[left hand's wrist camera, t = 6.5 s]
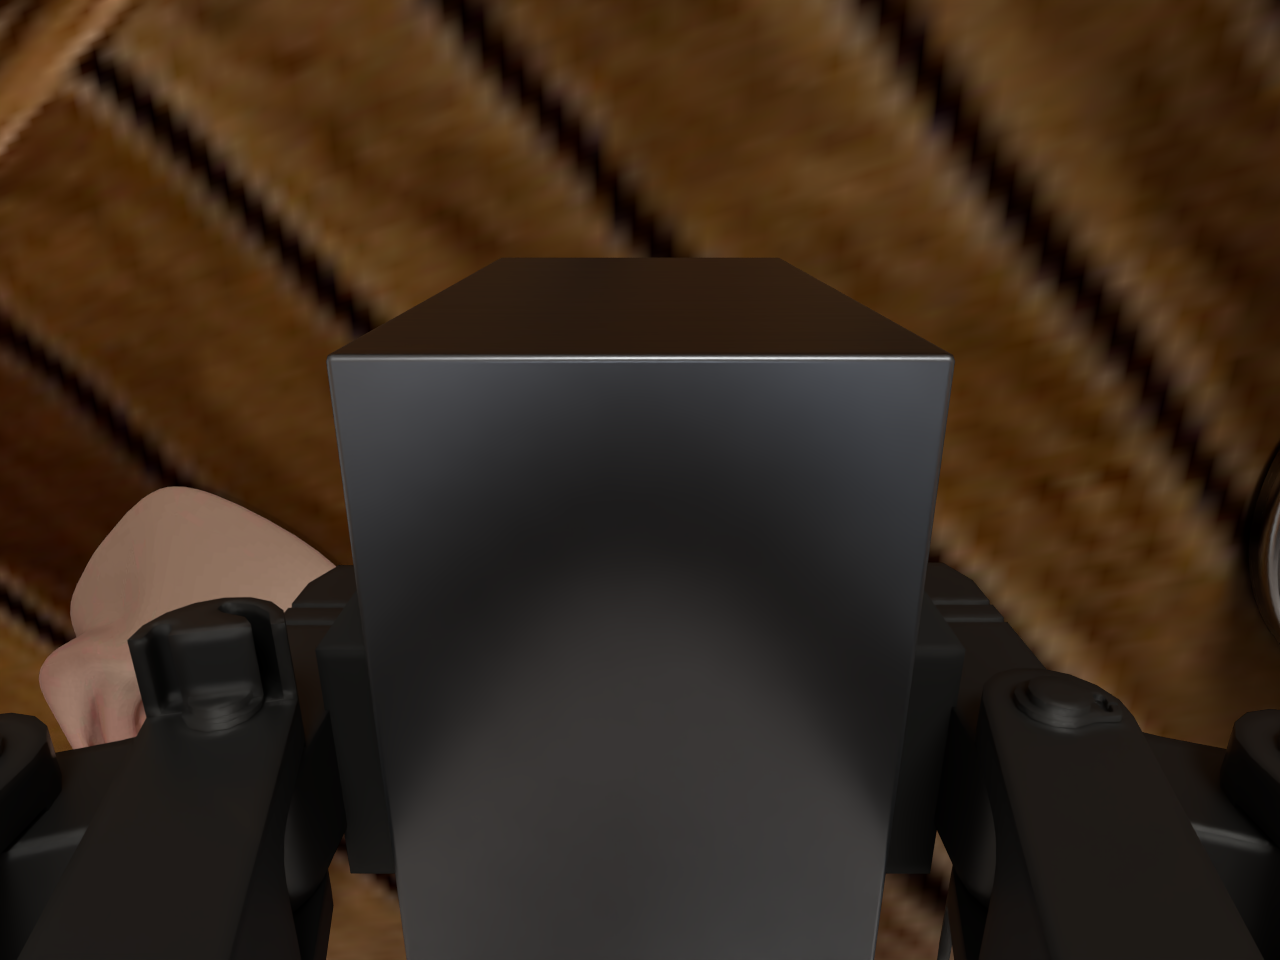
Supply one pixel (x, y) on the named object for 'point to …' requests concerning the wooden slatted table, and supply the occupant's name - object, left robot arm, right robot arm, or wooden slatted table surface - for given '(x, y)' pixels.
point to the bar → (640, 604)
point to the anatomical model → (161, 598)
